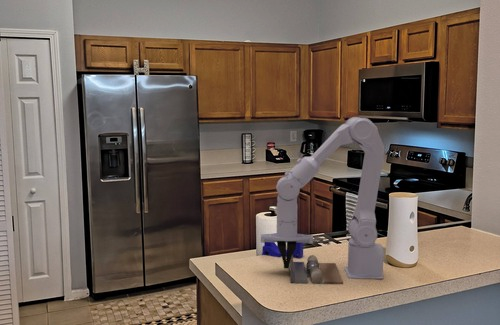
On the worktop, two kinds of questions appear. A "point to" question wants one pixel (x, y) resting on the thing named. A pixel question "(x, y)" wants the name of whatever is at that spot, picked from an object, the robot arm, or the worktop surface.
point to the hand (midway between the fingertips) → (286, 267)
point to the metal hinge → (300, 271)
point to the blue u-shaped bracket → (274, 251)
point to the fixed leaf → (325, 273)
